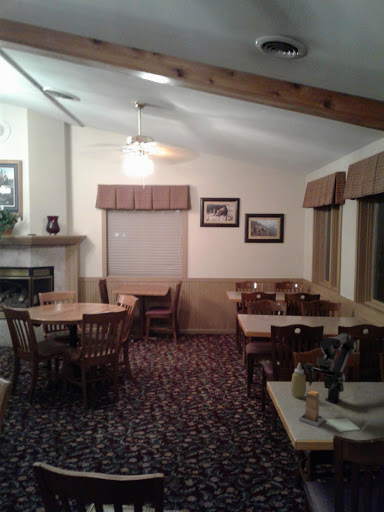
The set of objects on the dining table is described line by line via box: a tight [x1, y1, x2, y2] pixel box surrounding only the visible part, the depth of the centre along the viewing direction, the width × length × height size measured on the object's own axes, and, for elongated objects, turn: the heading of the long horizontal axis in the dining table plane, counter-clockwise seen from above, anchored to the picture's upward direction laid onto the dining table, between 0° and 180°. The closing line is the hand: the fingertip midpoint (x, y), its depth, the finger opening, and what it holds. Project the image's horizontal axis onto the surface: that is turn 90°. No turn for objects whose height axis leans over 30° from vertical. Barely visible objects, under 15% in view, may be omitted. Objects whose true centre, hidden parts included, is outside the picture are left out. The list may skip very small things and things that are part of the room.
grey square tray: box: [298, 412, 325, 428], centre depth 179 cm, size 9×9×2 cm
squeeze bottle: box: [290, 362, 307, 399], centre depth 206 cm, size 8×8×18 cm
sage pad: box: [326, 417, 361, 433], centre depth 175 cm, size 10×10×1 cm
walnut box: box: [304, 389, 320, 422], centre depth 178 cm, size 4×4×13 cm
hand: (319, 388), depth 184 cm, fingers open, 9 cm apart
